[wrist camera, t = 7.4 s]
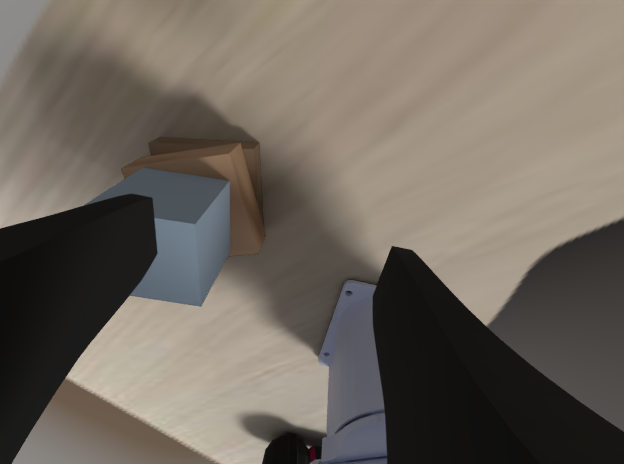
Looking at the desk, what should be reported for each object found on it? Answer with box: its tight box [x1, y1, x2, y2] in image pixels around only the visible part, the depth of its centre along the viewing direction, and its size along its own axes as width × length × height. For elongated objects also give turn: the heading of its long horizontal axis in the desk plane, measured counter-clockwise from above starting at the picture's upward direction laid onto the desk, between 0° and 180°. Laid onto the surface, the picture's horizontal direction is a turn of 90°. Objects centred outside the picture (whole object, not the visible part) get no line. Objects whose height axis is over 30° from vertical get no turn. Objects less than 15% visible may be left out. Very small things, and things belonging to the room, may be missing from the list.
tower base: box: [148, 137, 264, 227], centre depth 20 cm, size 6×6×2 cm
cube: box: [84, 168, 230, 306], centre depth 15 cm, size 4×4×4 cm
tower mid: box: [121, 143, 266, 256], centre depth 18 cm, size 6×6×2 cm
